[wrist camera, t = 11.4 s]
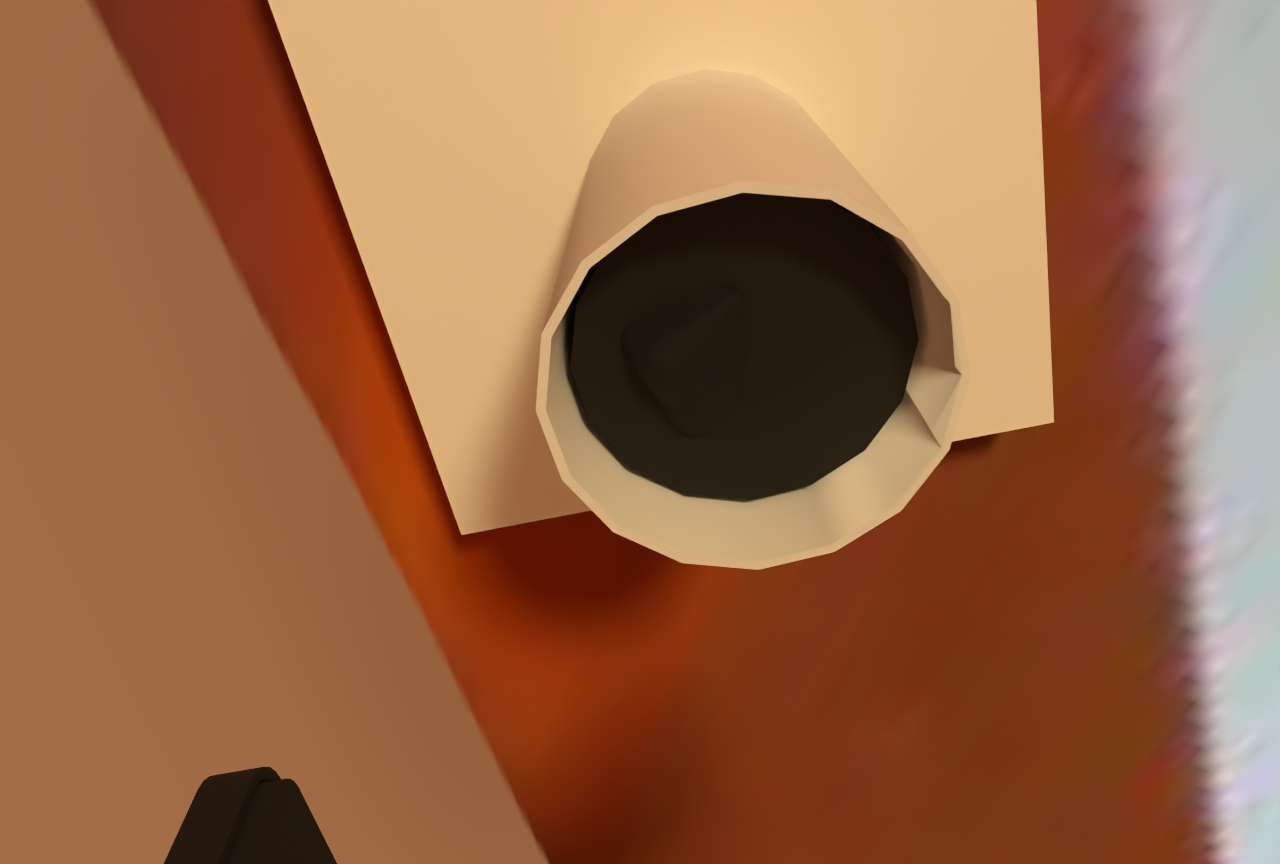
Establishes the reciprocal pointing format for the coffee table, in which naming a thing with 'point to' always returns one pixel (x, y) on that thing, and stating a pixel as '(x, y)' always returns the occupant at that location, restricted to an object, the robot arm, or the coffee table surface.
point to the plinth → (567, 138)
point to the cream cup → (743, 334)
